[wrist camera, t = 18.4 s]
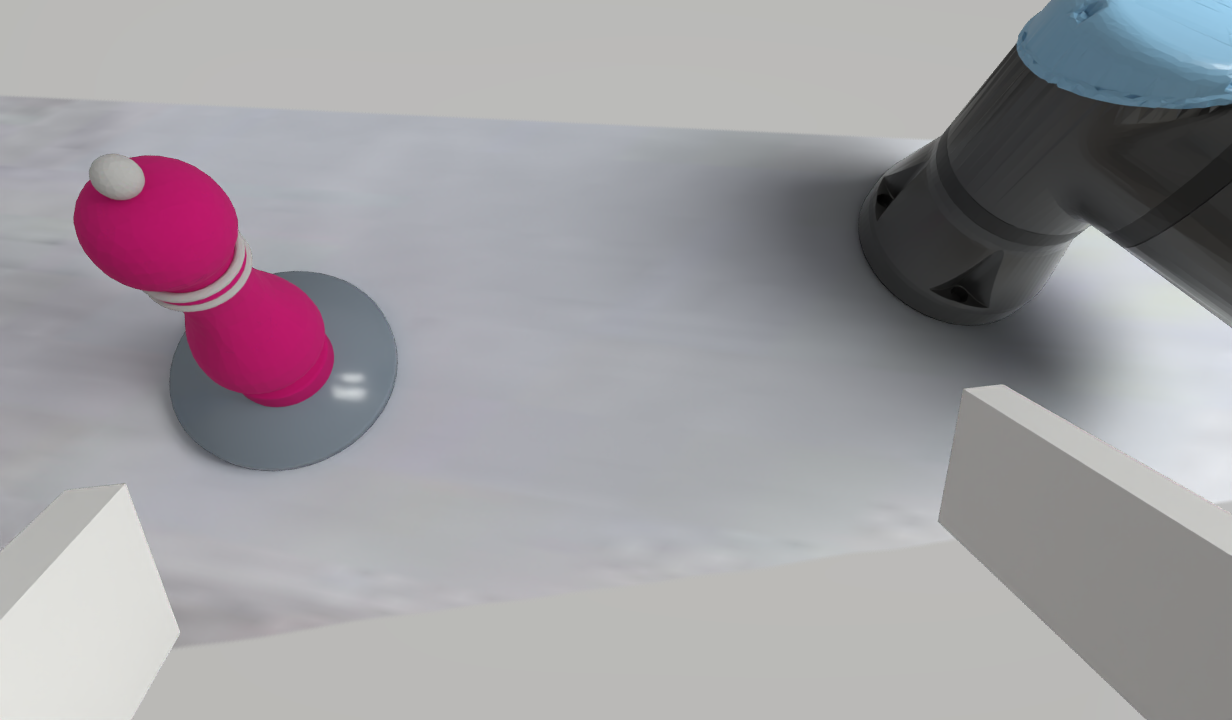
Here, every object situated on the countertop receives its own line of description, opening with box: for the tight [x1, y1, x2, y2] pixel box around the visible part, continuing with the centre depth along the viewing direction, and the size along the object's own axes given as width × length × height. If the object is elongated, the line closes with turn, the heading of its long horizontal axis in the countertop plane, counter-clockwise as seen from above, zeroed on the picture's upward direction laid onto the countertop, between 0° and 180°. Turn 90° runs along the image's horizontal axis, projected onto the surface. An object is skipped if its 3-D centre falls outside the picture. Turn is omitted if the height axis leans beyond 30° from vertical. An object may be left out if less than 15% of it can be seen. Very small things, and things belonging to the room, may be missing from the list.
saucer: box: [169, 271, 398, 471], centre depth 44 cm, size 14×14×1 cm
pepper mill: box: [74, 154, 334, 407], centre depth 35 cm, size 7×7×20 cm
